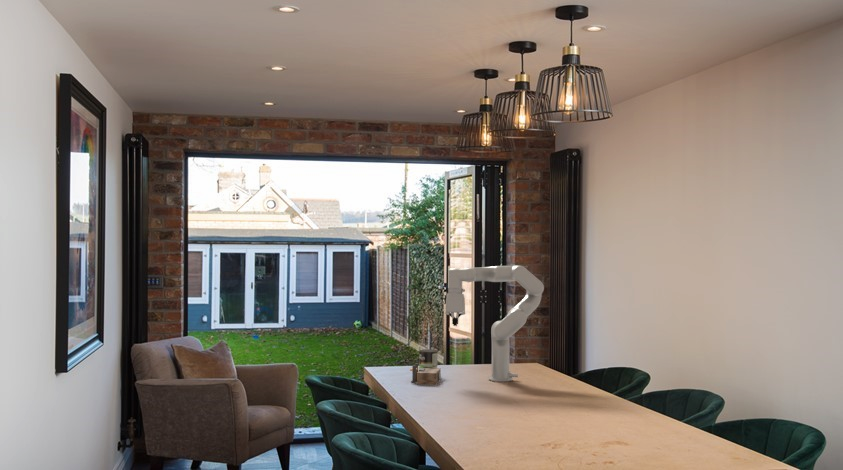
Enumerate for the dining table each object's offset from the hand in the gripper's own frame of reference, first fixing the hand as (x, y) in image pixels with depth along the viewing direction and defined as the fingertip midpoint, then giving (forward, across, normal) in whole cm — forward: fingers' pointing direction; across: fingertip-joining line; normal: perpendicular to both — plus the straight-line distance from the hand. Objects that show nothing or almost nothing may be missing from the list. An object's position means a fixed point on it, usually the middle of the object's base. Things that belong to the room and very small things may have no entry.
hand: (455, 325), depth 424 cm
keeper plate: (+28, +21, +8) cm, 36 cm away
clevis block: (+29, +15, +8) cm, 34 cm away
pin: (+28, +13, +8) cm, 32 cm away
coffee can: (+29, +16, -11) cm, 35 cm away
